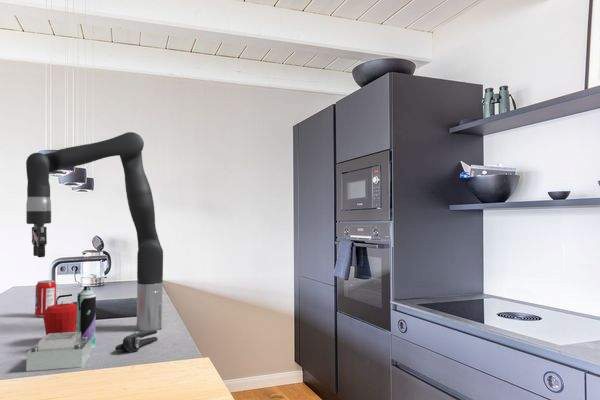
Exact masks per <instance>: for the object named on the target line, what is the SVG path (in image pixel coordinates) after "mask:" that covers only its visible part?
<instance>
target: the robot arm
mask: <svg viewBox="0 0 600 400" xmlns="http://www.w3.org/2000/svg"><path fill="white" fill-rule="evenodd" d="M144 143H145V141H144V140H143V138H142V136H141V135H140V134H138V133H136V132H133V131H127V132H124V133H122V134H120V135H117V136H114V137H111V138H108V139H104V140H102V141H101V140H100V141H98V142H91V143H86V144H81V145H80V144H79V145H74V146H70V147H64V148H60V149H58V150H56V151H53V152H47V153H42V152H32V153H31V154H29V156H27V159H26V162H25V166H26V167H25V169H26V179H27V184H26V185H27V186H26V193H27V194H26V195H27V196H26V197H27V198H26V207H25V209H26V211H25V212H26V215H25V216H26V219H25V221H26V222H25V223H26V224H28V225H33V226H31V243H32V244H31V245H32V246H33V248H32V249H33V253H32V254H33V256H34V257H37V258H45V257H46V246H47V244H48V241H47V235H48V233H47V230H48V229H47V228H48V227H47V226H45V225H47V224H51V223H52V201H51V183H50V173H53V172H56V171H58V170H62V169H68V168H73V167H78V166H82V165H86V164H90V163H92V162H96V161H99V160H103V159H106V158H109V157H110V158H111V157H117V156H119V158H120V161H121V164H122V168H123V173H124V186H125V192H126V193H125V194H126V200H127V204H128V210H129V213H130V216H131V219H132V222H133V225H134V227H135V231H136V238H137V256H136V257H137V258H136V260H137V262H136V263H137V264H136V267H137V268H136V269H137V270H136V271H137V272H136V275H137V276H136V279H137V280H136V283H137V285H136V286H137V287H136V330H137V331H139V332H141V331H148V330H156V331H158V330H162V329H163V313H164V312H163V309H164V305H163V302H164V301H163V287H164V285H163V284H164V283H163V281H164V280H163V279H164V277H163V276H164V250H163V247H162V245H161V242H160V238H159V235H158V232H157V227H156V213H155V204H154V197H153V194H152V188H151V186H150V182H149V179H148V177H147V174H146V172H145V169H144V165H143V164H144V163H143V155H142V153H143V150H144V145H145V144H144Z"/></svg>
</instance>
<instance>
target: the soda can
mask: <svg viewBox="0 0 600 400" xmlns="http://www.w3.org/2000/svg"><path fill="white" fill-rule="evenodd" d="M34 294H35V299H34V301H35V304H34V306H35V307H34V315H35V316H36V317H38V318H44V312H45V310H46V309H47V308H48V307H49V306H52V305H57V283H56V282H55V280H53V279H51V280H50V279H49V280H39V281H37V284H35V293H34Z"/></svg>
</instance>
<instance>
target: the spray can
mask: <svg viewBox="0 0 600 400" xmlns="http://www.w3.org/2000/svg"><path fill="white" fill-rule="evenodd" d="M90 286H91V285H84V286H83V289H82V290H81V291H80V292H79V293H77V298H76V300H77V301H76V306H77V325H76V332H81V339H82V337H84V336H87V337H88V338H91V350H92V349H95V348H96V318H97V317H96V316H97V314H96V310H97V309H96V305H97V304H96V303H97V298H96V297H97V294H96V292H95V291H93V290H92V288H90Z"/></svg>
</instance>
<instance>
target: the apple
mask: <svg viewBox="0 0 600 400" xmlns="http://www.w3.org/2000/svg"><path fill="white" fill-rule="evenodd" d="M42 318H43V323H44V329H45V336H46V335H47V334H50V333H67V332H77V303H74V302H73V303H70V302H68V303H64V302H63V301H62V302H61V303H56V305H52V306H49V307H48V308H47V309H46V310H45V312H44V317H42Z"/></svg>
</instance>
